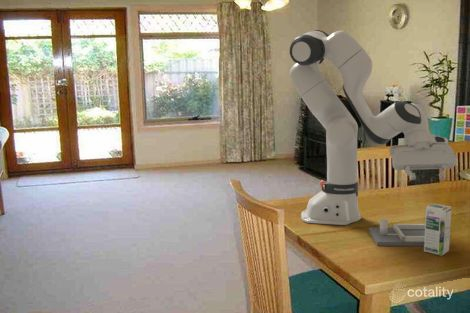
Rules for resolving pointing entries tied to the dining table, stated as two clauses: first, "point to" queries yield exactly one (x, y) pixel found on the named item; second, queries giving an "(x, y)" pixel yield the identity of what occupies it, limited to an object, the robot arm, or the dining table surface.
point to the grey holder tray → (398, 234)
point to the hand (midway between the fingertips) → (427, 178)
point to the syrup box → (437, 229)
